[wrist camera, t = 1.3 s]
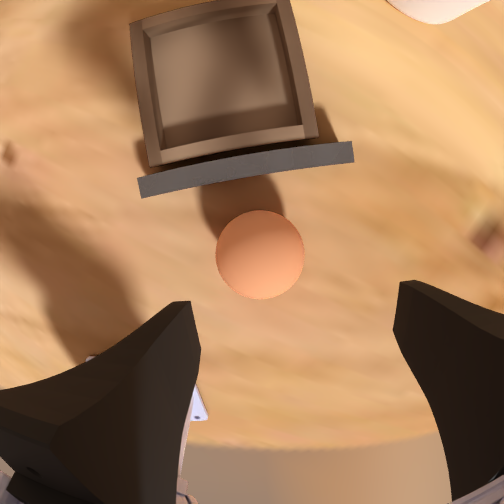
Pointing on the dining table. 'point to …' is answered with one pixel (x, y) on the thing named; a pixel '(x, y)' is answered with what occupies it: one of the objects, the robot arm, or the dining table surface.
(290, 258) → the ball
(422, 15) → the pill bottle
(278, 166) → the rail
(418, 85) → the dining table surface
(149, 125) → the tray
